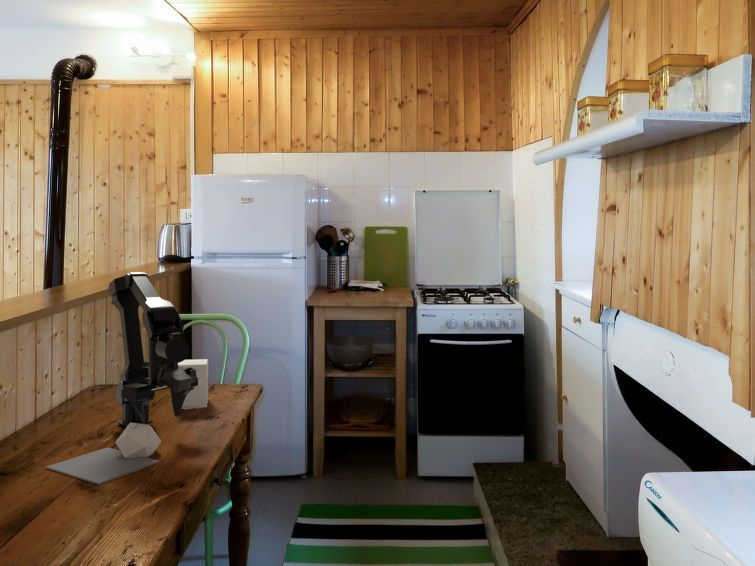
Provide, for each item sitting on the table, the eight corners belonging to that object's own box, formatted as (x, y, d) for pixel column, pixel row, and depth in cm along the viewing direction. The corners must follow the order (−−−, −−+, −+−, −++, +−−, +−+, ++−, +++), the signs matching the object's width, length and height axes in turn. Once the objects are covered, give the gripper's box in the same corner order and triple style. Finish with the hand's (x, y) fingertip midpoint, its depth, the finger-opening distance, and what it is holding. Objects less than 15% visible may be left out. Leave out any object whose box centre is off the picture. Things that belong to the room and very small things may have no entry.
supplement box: (174, 417, 170) (173, 365, 170) (177, 409, 179) (176, 359, 178) (207, 415, 173) (207, 363, 172) (208, 407, 181) (208, 358, 181)
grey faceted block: (172, 433, 143) (149, 417, 135) (157, 470, 139) (133, 456, 131) (143, 429, 146) (119, 413, 138) (127, 465, 141) (102, 451, 133)
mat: (46, 468, 129) (45, 466, 129) (107, 448, 142) (107, 447, 142) (99, 484, 121) (98, 483, 120) (159, 462, 134) (159, 460, 134)
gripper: (152, 366, 132) (152, 436, 133) (213, 354, 148) (214, 416, 149) (119, 361, 138) (120, 428, 138) (182, 350, 154) (182, 410, 155)
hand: (161, 420), depth 145 cm, fingers open, 9 cm apart
